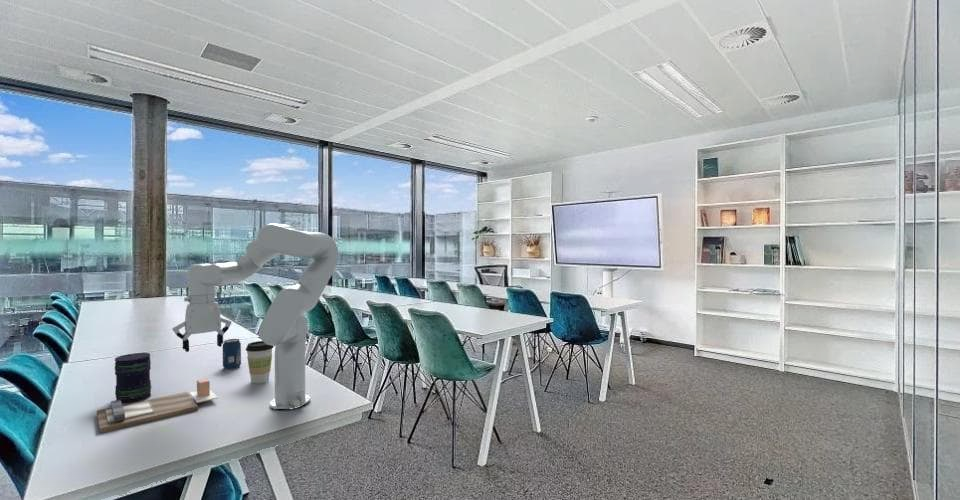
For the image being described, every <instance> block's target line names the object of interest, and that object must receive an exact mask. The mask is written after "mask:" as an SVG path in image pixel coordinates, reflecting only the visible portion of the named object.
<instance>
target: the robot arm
mask: <svg viewBox="0 0 960 500" xmlns="http://www.w3.org/2000/svg"><path fill="white" fill-rule="evenodd" d="M245 252H246V254H245V255H243V256H241V257H240V258H238V259H236V260H235V261H231V262H220V263H195V264H190V265H189V267H188V296H186V297H183V301H184V302H188V304H186V310H185V316H184V321H182V322H181V323H179V324H177V325H176V326H174V327H172V331H173V333H174V334H175V336H177V337H178V338H179V339H181V340H182V350H183V351H185V352H186V353H188V352H189V351H190V340H189V337H190V336H191V335H196V334H197V335H198V334H206V333H213V332H216V333H217V335H216V345H217V346H218V347H219V348H220V347H222V348H223V343H224V335H225V334H226V332H227V331H228V330H229V328H230V327H231V324H232V321H231V320H229V319H225V318H222V317H221V310H220V306H219V305H220V304H219V302H218V301H216V287H218V286H220V287H221V286H225V285H230V284H237V283H240V282H242V281H244V280H246V279H248V278H250V277H251V276H253V275H255V274H256V273H257V272H258V271H260V270H261V269H262V268H263V267H264V265H265V264H267V263H268V262H270V261H271V260H273V259H275V258H277V257H278V256H280V255H282V254H283V255H286V256H290V257H294V258H299V259H311V261H310V262H309V264H308V265H307V266H306V267H305V268H304V270H303V272H302V274H301V276H300V277H299V279H298V281H297V283H296V284H294V285H290V286H287V287H284V288H283V289H281V290H279V292H277V294H276V295H275V297H274V298H273V300H272V302H271V304H270V306H269V308H268V309H267V312H266V313H265V315H264V317H263V319H262V320H261V323H260V324H259V325H260V326H259V332H258V334H259V337H260V339H261V341H263V342H264V343H266V344H268V345H272V346H274V347H275V348H274V398H273V399H272V400H271V401H270V402H269V408H271V409H272V408H273V409H272V410H275V409H290V408H295V407H298V406H301V405H304V404H306V403H308V402H309V401H311V396H310V395H309V394H306V340H307V335H308V334H307V332H308V320H307V318H306V315H304V313H308V312H310V311H312V310H313V309H314V308H315V307H316V306H317V304H318V302H319V300H320V298H321V296H322V294H323V292H324V291H325V289H326V287H327V285H328V283H329V281H330V279H331V277H332V275H333V274H334V272H335V270H336V268H337V265H338V263H339V258H340V257H339V256H340V255H339V248H338V245H337V243H336V241H335V240H334V239H333V237H332V236H330V235H328V234H327V233H324V232H319V231H318V232H317V231H302V230H298V229H295V228H294V227H293V226H292V225H289V224H285V223H269V224H264V225H263V226H261V228H260V229H259V230H258V233H257V238H256V239H253V240H252V241H250V242H248V243H247V244H246V247H245ZM222 323H224V324H225V325H224V326H223V327H222ZM182 328H184V330H185V332H184V333H181V332H180V330H181V329H182ZM309 403H310V402H309ZM309 403H308V404H309ZM306 405H307V404H306Z"/></svg>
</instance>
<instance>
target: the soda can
mask: <svg viewBox="0 0 960 500" xmlns="http://www.w3.org/2000/svg"><path fill="white" fill-rule="evenodd" d="M241 343H242V342H241V341H240V338H228V339H225V340H223V344H222V367H223V369H225V370H234V369H235V370H236V369H239V368H240V366H241V364H242V344H241Z"/></svg>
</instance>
